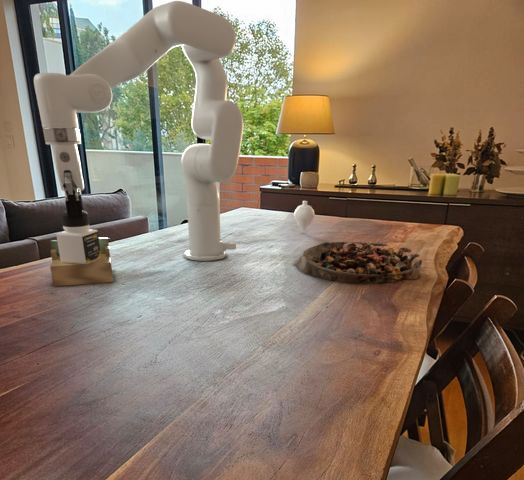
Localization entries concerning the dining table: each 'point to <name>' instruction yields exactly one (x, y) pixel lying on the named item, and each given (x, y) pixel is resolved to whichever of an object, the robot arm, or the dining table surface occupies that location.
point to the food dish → (358, 263)
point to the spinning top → (304, 215)
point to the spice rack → (81, 268)
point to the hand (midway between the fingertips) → (76, 215)
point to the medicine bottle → (78, 241)
